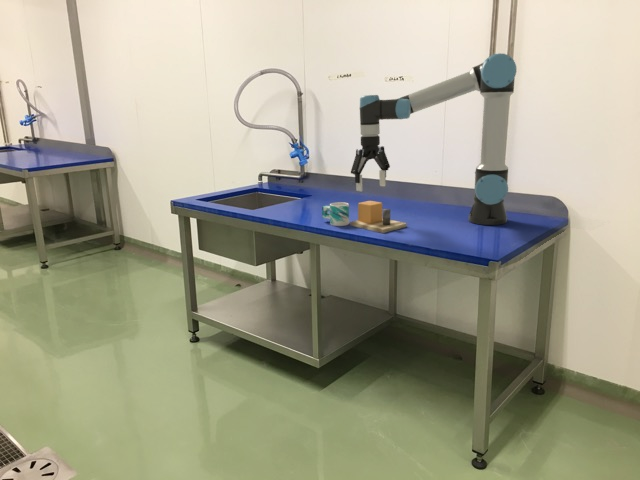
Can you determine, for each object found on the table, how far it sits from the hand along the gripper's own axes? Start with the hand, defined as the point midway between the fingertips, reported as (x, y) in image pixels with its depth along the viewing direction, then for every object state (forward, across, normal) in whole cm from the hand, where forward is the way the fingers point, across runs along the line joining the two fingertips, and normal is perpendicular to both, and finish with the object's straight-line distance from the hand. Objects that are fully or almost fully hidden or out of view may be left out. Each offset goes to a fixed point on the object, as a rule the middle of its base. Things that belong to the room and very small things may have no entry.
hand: (371, 188), depth 217 cm
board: (+15, 0, +4) cm, 16 cm away
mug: (+15, +8, -13) cm, 22 cm away
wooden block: (+13, 0, -1) cm, 13 cm away
